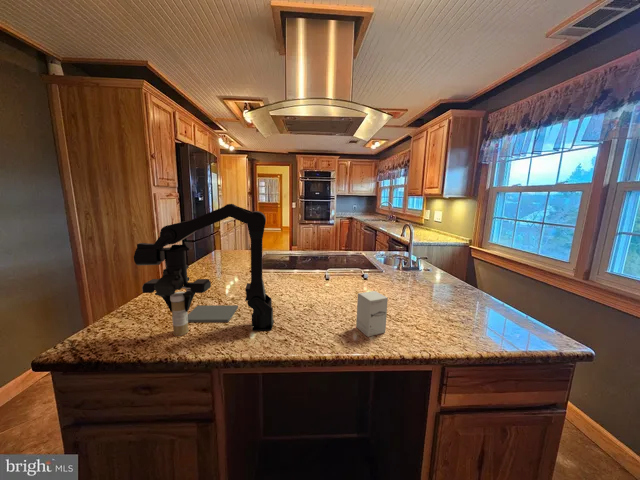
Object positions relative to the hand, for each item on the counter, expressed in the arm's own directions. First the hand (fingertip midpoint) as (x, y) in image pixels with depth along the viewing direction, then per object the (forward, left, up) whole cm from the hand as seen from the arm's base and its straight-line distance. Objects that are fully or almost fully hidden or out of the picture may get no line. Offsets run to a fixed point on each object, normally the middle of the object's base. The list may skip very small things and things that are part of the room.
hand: (179, 311), depth 80 cm
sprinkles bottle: (0, 0, -8) cm, 8 cm away
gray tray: (-5, -13, -8) cm, 16 cm away
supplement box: (-63, -1, -8) cm, 63 cm away
